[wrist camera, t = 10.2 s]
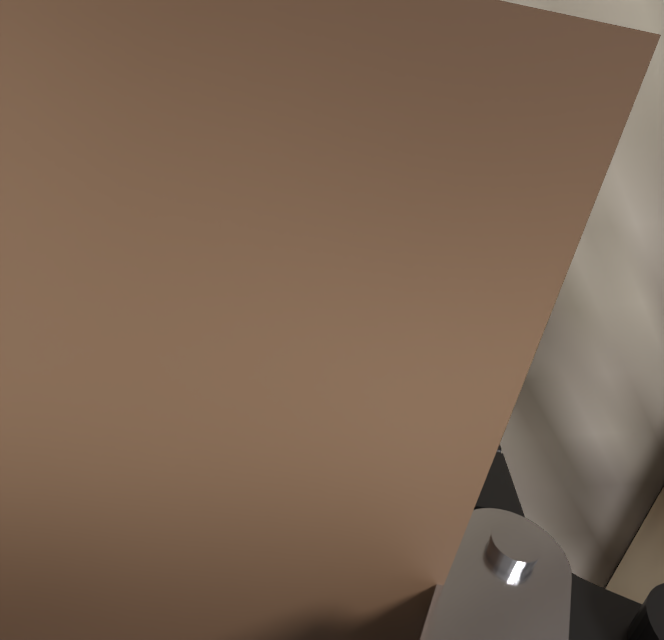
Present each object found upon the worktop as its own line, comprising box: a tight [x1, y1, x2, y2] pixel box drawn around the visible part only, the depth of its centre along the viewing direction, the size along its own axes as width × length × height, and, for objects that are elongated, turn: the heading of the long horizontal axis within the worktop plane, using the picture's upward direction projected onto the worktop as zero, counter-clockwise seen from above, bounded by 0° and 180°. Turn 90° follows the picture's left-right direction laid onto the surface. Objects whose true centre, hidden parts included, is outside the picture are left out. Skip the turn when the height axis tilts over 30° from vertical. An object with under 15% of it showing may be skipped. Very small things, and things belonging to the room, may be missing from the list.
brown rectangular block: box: [0, 0, 661, 640], centre depth 8 cm, size 12×5×5 cm, turn 169°
